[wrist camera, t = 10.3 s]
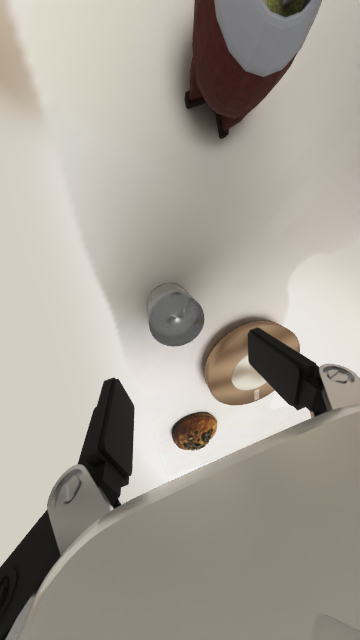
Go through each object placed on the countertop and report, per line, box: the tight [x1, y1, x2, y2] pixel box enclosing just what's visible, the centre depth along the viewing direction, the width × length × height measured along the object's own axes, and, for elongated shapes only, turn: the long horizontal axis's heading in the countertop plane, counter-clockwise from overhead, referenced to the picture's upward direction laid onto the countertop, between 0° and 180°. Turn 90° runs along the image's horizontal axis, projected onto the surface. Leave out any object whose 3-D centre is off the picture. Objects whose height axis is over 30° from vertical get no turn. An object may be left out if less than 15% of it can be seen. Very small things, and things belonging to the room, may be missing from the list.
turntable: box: [204, 321, 300, 405], centre depth 24 cm, size 17×17×7 cm
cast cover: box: [148, 283, 204, 346], centre depth 19 cm, size 6×6×6 cm
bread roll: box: [172, 413, 217, 451], centre depth 34 cm, size 11×11×5 cm
